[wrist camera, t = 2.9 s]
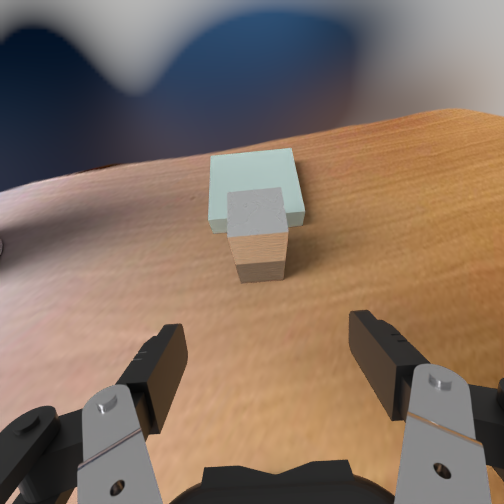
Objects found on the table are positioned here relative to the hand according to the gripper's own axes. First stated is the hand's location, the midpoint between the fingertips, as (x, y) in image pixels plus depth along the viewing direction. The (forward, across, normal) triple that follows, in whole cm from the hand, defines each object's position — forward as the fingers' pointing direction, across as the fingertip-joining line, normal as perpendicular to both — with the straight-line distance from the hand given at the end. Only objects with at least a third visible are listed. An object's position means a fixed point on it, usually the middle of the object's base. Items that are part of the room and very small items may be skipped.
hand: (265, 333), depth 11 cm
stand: (+26, 0, -6) cm, 26 cm away
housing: (+18, 0, +2) cm, 18 cm away
